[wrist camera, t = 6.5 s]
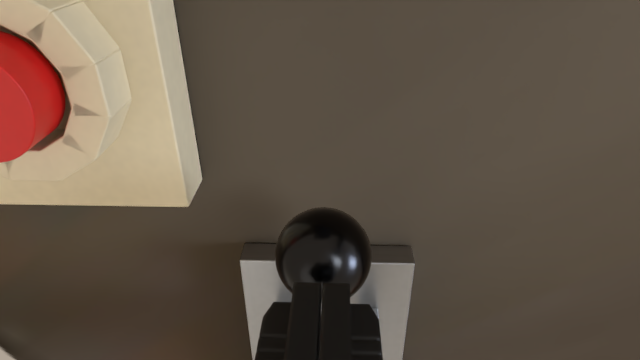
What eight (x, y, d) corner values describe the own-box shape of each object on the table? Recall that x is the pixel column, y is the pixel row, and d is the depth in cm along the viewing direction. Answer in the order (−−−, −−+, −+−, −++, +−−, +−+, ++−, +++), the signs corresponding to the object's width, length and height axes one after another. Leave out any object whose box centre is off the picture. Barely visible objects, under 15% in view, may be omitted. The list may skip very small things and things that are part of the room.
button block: (-119, -114, 15) (-258, -121, 11) (154, -118, 14) (96, -126, 11) (5, 177, 20) (-63, 231, 17) (203, 179, 20) (175, 235, 17)
